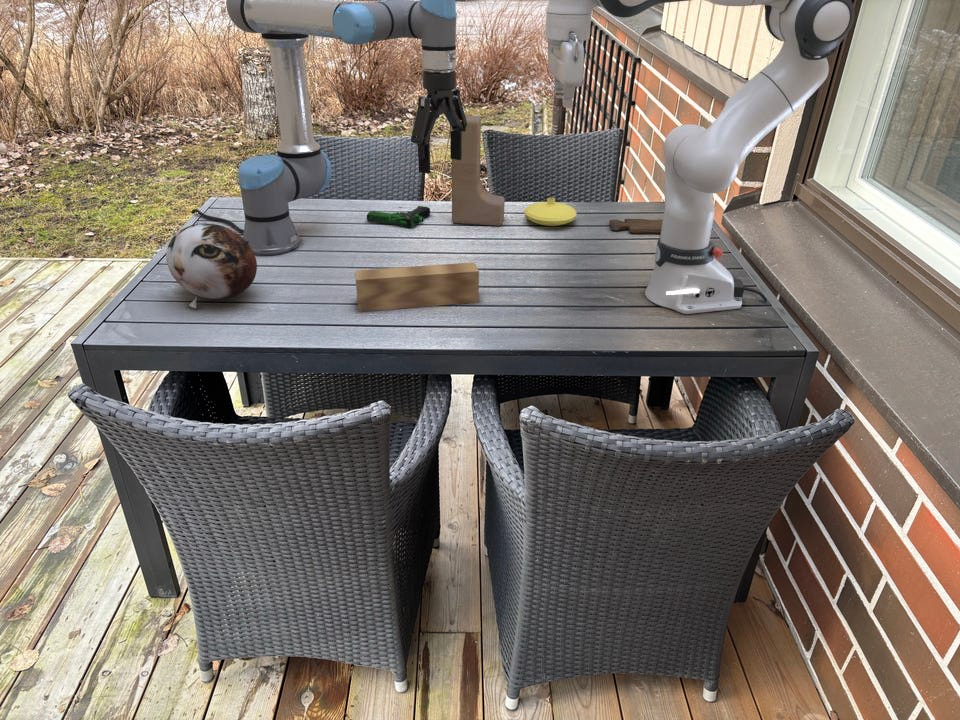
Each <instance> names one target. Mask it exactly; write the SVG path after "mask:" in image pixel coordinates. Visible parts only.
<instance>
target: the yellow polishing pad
mask: <svg viewBox="0 0 960 720" xmlns="http://www.w3.org/2000/svg"><path fill="white" fill-rule="evenodd" d="M546 200H547V201H539V202H534V203H531V204H529V205H528V206H527V207H525V209H524V210H523V212H524V213H523V214H524V216H525V218H526V219H527V220H529V221H531V222H533V223H535V224H537V225H540V226H547V227H557V226H558V227H559V226H563V225H566V224H569V223H571V222H573V221H574V220H575V219H576V217H577V214H578V213H577V211H576V210H575V208H574V207H573V206H571V205H569V204H566V203H562V202H556V198H555V197H548V198H547V199H546Z"/></svg>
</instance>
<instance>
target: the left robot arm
mask: <svg viewBox="0 0 960 720" xmlns="http://www.w3.org/2000/svg"><path fill="white" fill-rule="evenodd" d="M225 3H226V4H225V8H226V12H227V15H228V17H229V19H230V20H231V22H232V23H233V24H234V26H235V27H236V28H238V29H240V30H241V31H243V32H245V33H249V34H260V35H261V40H262V41H264V42H265V43H266V44H267V46H268V48H269V57H270V63H271V71H272V78H273V86H274V94H275V102H276V108H277V116H278V117H277V118H278V125H279V132H280V139H281V142H280V143H279V144H278V145H277V146H276V153H277V155H276V154H262V155H254V156H253V157H250V158H247V159H245V160H244V161H242V162H241V163H240V164H239V166H238V168H237V169H238V170H237V174H238V185H239V190H240V194H241V195H240V196H241V201H242V208H243V212H244V213H243V215H244V219H245V220H244V226H243V228H244V229H242V228H240V227H238V226H237V225H236V224H235V223H234V222H232V221H231V220H228V219H225V218H222V217H217V216H212V215H209V214H205V213H204V212H202V211H201V210H199V209H197V208H194V209H192V210H191V212H190V214H192V215H193V214H196V213H197V212H198V213H197V214H198V215H199V216H201V217H202V218H205V219H207V220H211V221H216V222H222V223H225V224H228V225H230V226H231V227H232V228H233V229H235V230H236V231H237V232H239V233H241V234H243V235H242V237H243V238H244V239H245V240H246V241H249V242H248V244H249V245H250V247H251V248H252V250H253V252H254V254H255V256H256V255H257V256H275V255H281V254H282V255H283V254H285V253H289V252H291V251H293V250H296V249H297V248H298V247H299V246H300V244H301V241H300V235H299V233H298V231H297V229H296V227H295V225H294V223H293V220H292V218H291V216H290V207H289V203H291V202H294V201H297V200H300V199H303V198H306V197H309V196H313V195H316V194H317V193H319V192H322V191H324V190H325V189H326V188H327V187H328V186H329V185H330V183H331V180H332V175H333V173H332V171H333V170H332V163H331V161H330V159H329V158H328V155H327V154H326V153H325V152H324V151H323V150H322V149H321V145H320V144H319V143H318V142H317V141H316V140H315V136H314V130H313V129H314V128H313V119H312V109H311V101H310V100H311V99H310V92H309V82H308V81H309V80H308V73H307V65H306V63H307V62H306V55H305V54H306V53H305V44H306V43H307V41H308V40H309V39H310V36H314V37H321V38H328V39H337V40H341V42H342V43H344V44H347V45H357V46H359V45H364V44H367V43H374V42H379V41H380V42H381V41H388V40H389V41H390V40H395V39H401V38H402V39H403V38H404V39H405V38H406V39H417V40H421V68H422V69H424V70H423V71H422V73H421V75H422V87H423V89H424V90H426V93H427V94H426V97H425V96H419V97H417V110H416V114H415V119H414V123H413V127H412V132H411V137H410V142H411V143H413V144H416V145H417V158H418V173H423V174H428V175H429V174H431V144H430V143H429V140H430V138H431V135H432V133H433V129H434V128H435V127H434V126H435V124H436V121H437V119H439V118H440V116H441V115H444V116H445V118H446V120H447V121H448V123H449V126H450V128H451V127H452V129H453V130H454V131H450V133H449V139H450V143H449V145H450V147H449V149H450V150H449V151H450V159H451V160H452V159H456V160H462V132H465V131H466V127H467V121H466V117H465V115H466V113H465V109H464V107H463V103H462V99H461V89H459V88H457V72H456V70H455V69H456V68H457V44H456V43H457V41H456V39H457V17H458V13H457V3H456V0H379V1H373V2H357V1H347V0H226V1H225ZM460 120H462V121H460Z"/></svg>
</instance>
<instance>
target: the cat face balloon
mask: <svg viewBox="0 0 960 720" xmlns="http://www.w3.org/2000/svg"><path fill="white" fill-rule="evenodd" d="M248 242H249V241H246V240H245V239H244V238H243V236H242V235H240V234H239V233H238V232H236V231H234V230H233V229H231V228H229V227H226V226H223V225H220V224H215V223H205V222H204V223H195V224H191V225H188V226H186V227H183V228H182V229H180V230H179V231H177V232H176V233H175V234H174V235H173V237H171V239H170V241H169V243H168V245H167V248H166V254H165V260H166V265H167V268H168V271H169V273H170V275H171V276H172V277H173V279H174V280H175V281H176V282H177V284H178V285H180V286H181V287H182V288H183V289H185V290H186V291H187V292H189V293H191V294H194V295H195V298H194V299H193V300H192V302H190V303H189V304H188V306H189V307H191V308H192V309H197V308H198V307H197V298H198V297H201V298H205V299H210V300H226V299H230V298H233V297H236V296H238V295H241V294H242V293H244V292H245V291H247V290H248V289H249V288H250V286H251V285H252V284H253V282H254V280H255V278H256V275H257V271H258V262H257V257H256V254H254V252H253V250H252V248H251V247H250V245H249V244H248Z"/></svg>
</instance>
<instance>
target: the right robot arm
mask: <svg viewBox="0 0 960 720" xmlns="http://www.w3.org/2000/svg"><path fill="white" fill-rule="evenodd" d="M689 1H691V0H548V3H547V6H546V10H545V30H544V39H546V40H547V65H548V71H549V72H550V73H551V74H552V75H553V85H554V97H555V98H556V99H559V100H560V99H561V101H562V102H561V105H562V107H563V108H565V109H571V108H572V107H573V101H574V100H573V99H574V95H575V92H576V88H580V87H581V86H583V81H584V66H585V65H584V64H585V48H584V47H585V46H584V45H583V43H584V41H589V40H590V37H591V36H590V35H591V25H592V13H593V9H594V8H597V7H598V8H599V7H600V8H602V9H604V10H605V11H607V13H609V14H610V15H612V16H614V17H618V18H623V19H624V18H626V19H627V18H631V17H635V16H638V15H639V14H641V13H643V12H644V11H646V10H648V9H650V8H653V7H654V6H656V5H660V4H667V3H677V2H678V3H679V2H689ZM704 2H708V3H710V4H712V5H716V6H717V5H718V6H725V7H751V6H762V5H763V6H764V21H765V26H766V29H767V31H768V33H769V34H770V35H771V36H772V37H773V38H774V39H776V40H778V41H780V42H783V43H782V45H781V48H780V50H779V52H778V53H777V55H776V56H775V57H774V59H772V61H771V62H770V63H768V64H767V65H765V66H764V67H763V68H762V69H761V70H759V72H757V73H756V74H755V75H754V76H753V77H751V78H750V79H749V80H748V81H747V82H746V83H745V84H744V85H742V86H741V87H740V88H739V89H737V90H736V91H735V92H734V93H733V94H732V95H731V96H729V97H728V99H727V100H726V101H725V104H724V107H723V109H722V110H721V112H720V113H719V115H717V117H716V118H715V120H714V121H713V122H712V123H711V124H710V125H709V126H708V128H706V127H703V126H702V125H700V124H699V125H698V124H687V123H686V124H681V125H677V126H676V127H674V128H673V129H672V130H670V132H669V133H668V134H667V136H666V137H665V140H664V143H663V155H664V209H663V216H662V219H663V222H662V228H661V233H660V234H659V235H660V236H659V237H658V239H657V242H656V247H655V252H654V267H653V271H652V274H651V277H650V279H649V282H648V285H647V286H646V288H645V290H644V295H645V298H647V300H649V301H650V302H651V303H654V304H655V305H658V306H659V307H663V308H667V309H671V310H674V311H675V312H678V313H679V314H683V315H693V314H701V313H702V314H703V313H710V312H719V311H720V312H722V311H730V310H737V309H741V308H742V305H743V299H742V298H744V294H745V293H744V292H745V291H746V292H752V293H755V294H756V295H759V297H760V298H762V300H763V301H764V302H767V301H768V298H767V297H766V296H765V294H764V293H762V292H761V291H760V290H758V289H755V288H751V287H747V286H745V285H744V283H743V281H742V279H738V278H734V277H733V275H732V274H731V272H730V270H729V269H727V268H726V267H725V266H724V265H723V264H722V263H721V262H720V261H718V260H717V259H721V258H722V257H723V255H724V252H723V250H722V249H721V248H720V247H717V246H716V245H715V244H714V243H713V242H711V241H710V240H711V236H712V229H713V224H714V219H715V214H716V209H715V203H714V194H718V193H720V192H723V191H725V190H726V189H727V188H729V187H730V186H731V185H732V184H733V182H734V181H735V179H736V178H737V175H738V172H739V168H740V166H741V165H742V164H743V162H744V161H745V160H746V158H747V157H748V156H749V154H750V153H751V152H752V150H753V149H754V148H755V147H756V146H757V145H758V144H759V143H760V142H761V141H762V139H763V138H765V137H766V136H767V135H768V134H769V133H771V131H773V130H774V129H776V128H777V126H779V125H780V124H781V123H782V122H784V121H785V120H786V119H787V118H788V117H790V116H791V115H792V114H794V112H795V111H797V110H798V109H799V108H800V107H801V106H802V105H804V103H806V101H808V100H809V99H810V97H811V96H813V94H815V92H816V91H817V90H818V89H819V88H820V87H821V86H822V85H823V84H824V82H825V81H826V80H827V78H828V76H829V72H830V65H829V61H828V58H829V57H831V56H832V55H834V54H835V52H836V51H837V49H838V47H839V45H840V44H841V43H842V42H843V41H844V39H845V38H846V37H847V35H848V34H849V32H850V30H851V28H852V26H853V23H854V21H855V15H856V13H855V11H856V9H855V6H854V3H853V1H852V0H704Z"/></svg>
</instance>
